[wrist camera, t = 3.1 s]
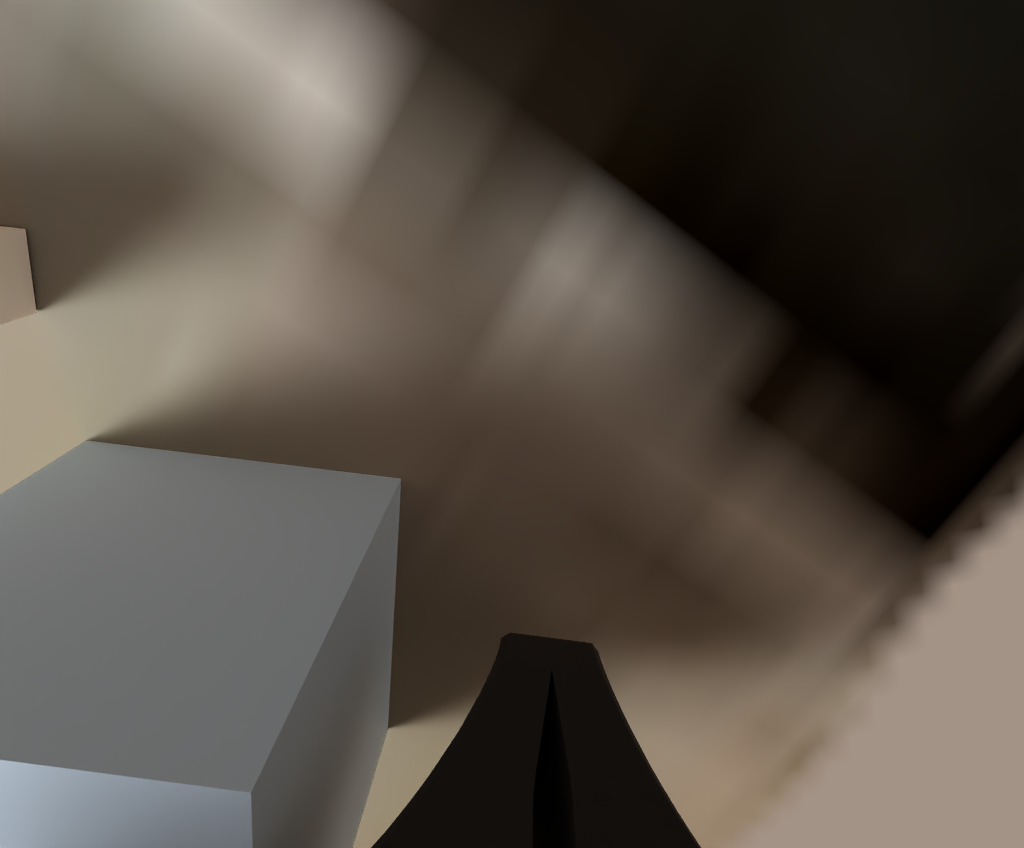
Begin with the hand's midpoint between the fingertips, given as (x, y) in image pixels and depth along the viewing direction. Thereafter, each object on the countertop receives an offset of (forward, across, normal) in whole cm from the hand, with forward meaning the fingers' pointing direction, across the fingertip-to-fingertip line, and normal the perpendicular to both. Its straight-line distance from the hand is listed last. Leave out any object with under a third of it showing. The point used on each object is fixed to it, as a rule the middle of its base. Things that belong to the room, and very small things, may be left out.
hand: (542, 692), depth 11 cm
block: (+2, +5, 0) cm, 5 cm away
